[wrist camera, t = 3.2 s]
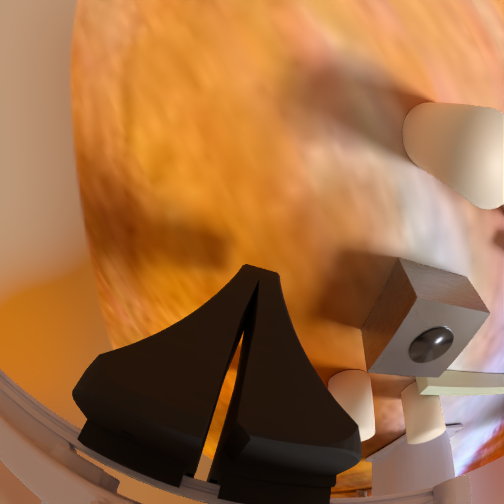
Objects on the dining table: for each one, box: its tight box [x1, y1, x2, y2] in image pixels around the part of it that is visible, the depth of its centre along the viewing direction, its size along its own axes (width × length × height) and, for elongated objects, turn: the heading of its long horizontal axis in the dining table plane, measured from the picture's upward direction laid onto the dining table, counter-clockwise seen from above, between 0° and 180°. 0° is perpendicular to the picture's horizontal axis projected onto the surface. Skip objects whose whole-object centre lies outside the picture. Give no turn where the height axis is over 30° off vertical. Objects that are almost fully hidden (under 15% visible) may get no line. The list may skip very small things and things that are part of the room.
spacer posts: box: [328, 102, 504, 444], centre depth 10 cm, size 17×14×4 cm
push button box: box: [361, 258, 490, 378], centre depth 11 cm, size 4×4×3 cm
